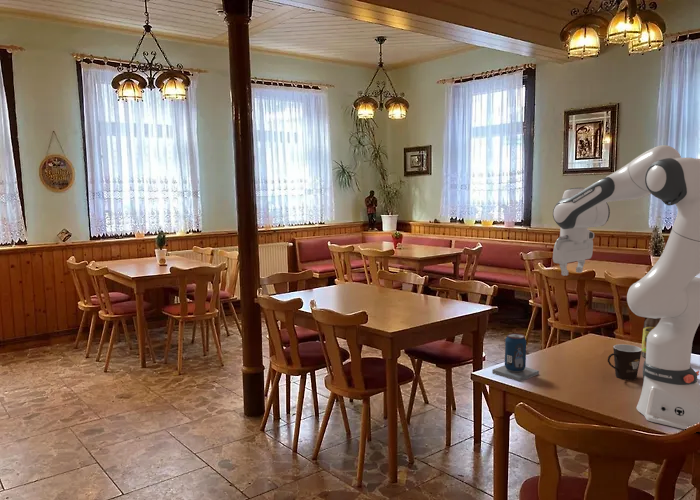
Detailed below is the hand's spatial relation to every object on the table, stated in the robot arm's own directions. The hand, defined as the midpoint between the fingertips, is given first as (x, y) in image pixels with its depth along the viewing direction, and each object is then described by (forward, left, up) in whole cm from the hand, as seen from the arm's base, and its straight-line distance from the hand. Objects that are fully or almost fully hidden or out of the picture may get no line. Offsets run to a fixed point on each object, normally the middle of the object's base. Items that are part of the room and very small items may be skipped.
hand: (572, 273), depth 201 cm
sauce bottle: (-15, -31, -33) cm, 48 cm away
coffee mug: (-18, -2, -33) cm, 38 cm away
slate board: (+7, +22, -33) cm, 40 cm away
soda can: (+7, +22, -32) cm, 39 cm away
